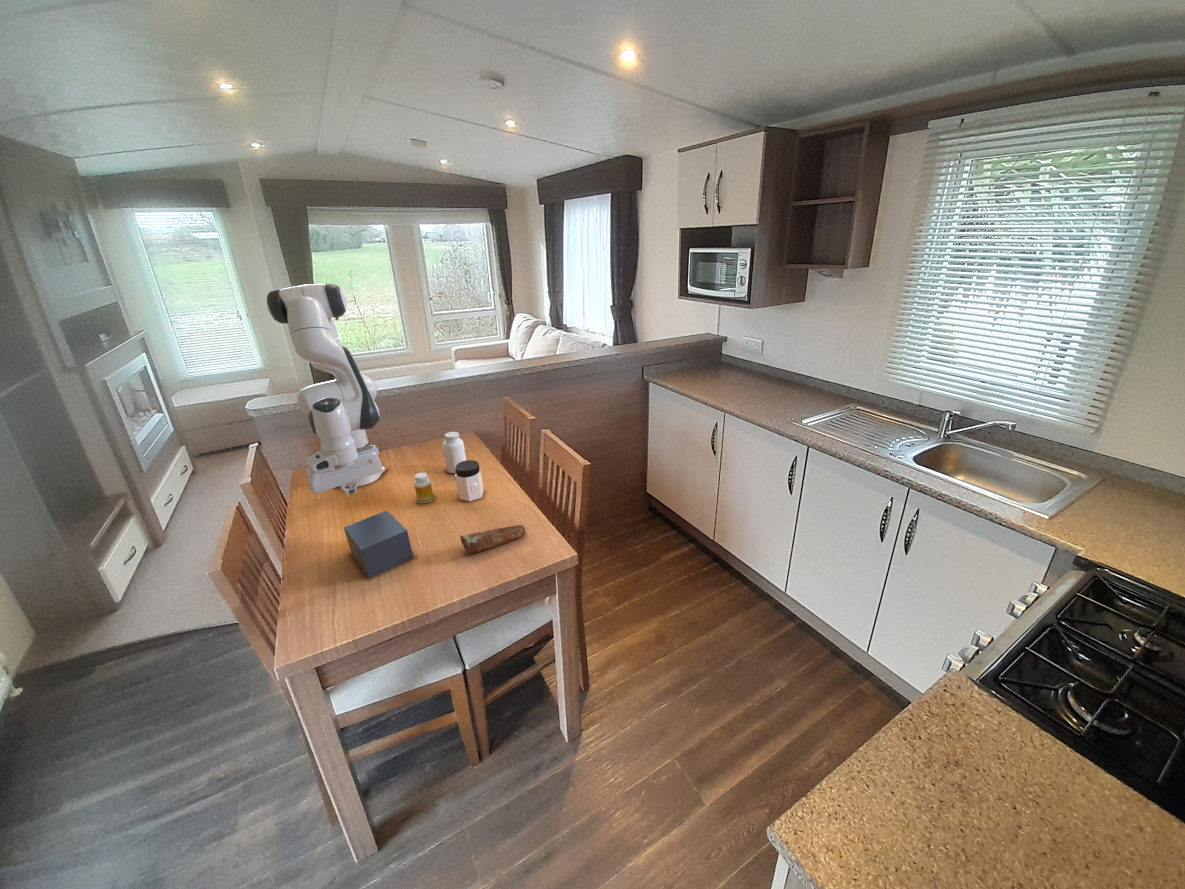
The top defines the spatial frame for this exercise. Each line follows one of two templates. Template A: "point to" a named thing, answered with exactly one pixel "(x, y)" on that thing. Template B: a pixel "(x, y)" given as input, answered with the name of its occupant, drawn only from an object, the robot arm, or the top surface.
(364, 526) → the dark grey box
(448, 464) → the pill bottle
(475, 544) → the rusty brown tapered cylinder
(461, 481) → the jar
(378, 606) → the top surface
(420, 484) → the supplement bottle
